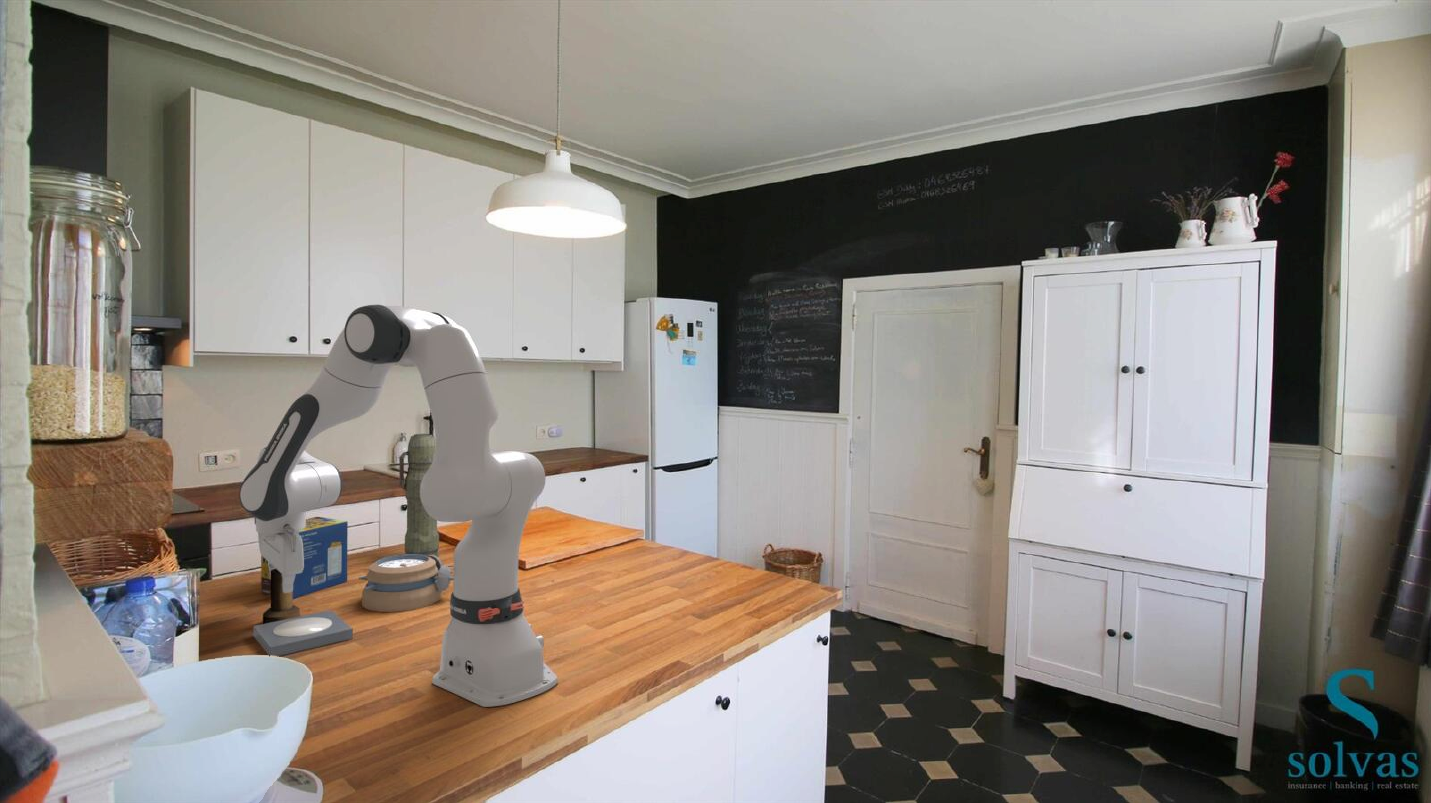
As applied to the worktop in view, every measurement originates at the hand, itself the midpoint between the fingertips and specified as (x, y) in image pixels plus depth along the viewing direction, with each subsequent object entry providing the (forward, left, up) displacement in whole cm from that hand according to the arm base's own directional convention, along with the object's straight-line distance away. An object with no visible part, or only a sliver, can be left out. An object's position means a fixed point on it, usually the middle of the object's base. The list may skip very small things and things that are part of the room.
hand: (281, 586), depth 145 cm
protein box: (+22, -10, -8) cm, 25 cm away
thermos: (+30, -41, -8) cm, 51 cm away
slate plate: (-12, -1, -8) cm, 14 cm away
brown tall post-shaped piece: (0, 0, -8) cm, 8 cm away
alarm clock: (-2, -27, -8) cm, 28 cm away
